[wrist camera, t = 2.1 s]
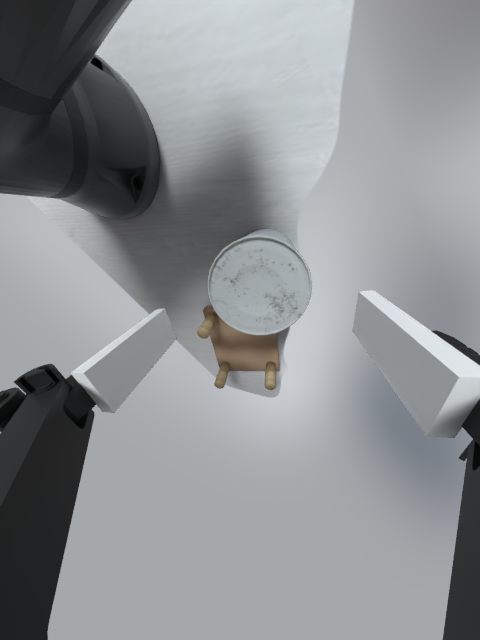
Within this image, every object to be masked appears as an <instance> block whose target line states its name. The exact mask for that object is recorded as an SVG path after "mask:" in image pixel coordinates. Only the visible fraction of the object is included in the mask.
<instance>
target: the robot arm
mask: <svg viewBox="0 0 480 640" xmlns="http://www.w3.org/2000/svg"><path fill="white" fill-rule="evenodd" d="M131 1H132V0H0V193H3V194H14V195H25V196H36V197H48V198H57V199H61V200H63V201H66V202H68V203H70V204H73V205H75V206H78V207H80V208H82V209H85V210H87V211H90V212H92V213H94V214H97V215H100V216H103V217H108V218H131V217H134V216H137V215H139V214H140V213H142V212H143V211H144V210H145V209H146V208H147V207H148V206H149V205H150V203H151V202H152V200H153V198H154V196H155V193H156V190H157V186H158V181H159V172H160V162H159V152H158V146H157V141H156V137H155V133H154V130H153V127H152V124H151V121H150V119H149V117H148V114H147V112H146V110H145V108H144V106H143V104H142V103H141V101H140V99H139V98H138V96H137V95H136V93H135V92H134V90H133V89H132V88H131V87H130V85H129V84H128V83H127V82H126V81H125V80H124V79H123V78H122V77H121V76H120V75H119V74H118V73H117V72H116V71H115V70H114V69H113V68H112V67H111V66H110V65H108V64H107V63H106V62H105V61H104V60H103V59H102V58H100V57H99V56H98V55H96V54H95V52H96V51H97V49H98V48H99V46H100V45H101V44H102V42H103V41H104V39H105V38H106V36H107V35H108V33H109V32H110V30H111V29H112V27H113V26H114V24H115V23H116V22H117V20H118V19H119V17H120V16H121V15H122V13H123V12H124V10H125V9H126V8H127V6H128V5H129V4H130V2H131ZM353 332H354V334H355V335H356V336H357V338H358V339H359V341H360V342H361V344H362V345H363V347H364V348H365V349H366V351H367V352H368V354H369V355H370V357H371V358H372V359H373V361H374V362H375V364H376V365H377V366H378V368H379V369H380V371H381V372H382V374H383V375H384V376H385V377H386V379H387V381H388V382H389V384H390V385H391V386H392V388H393V389H394V391H395V392H396V394H397V395H398V397H399V398H400V399H401V401H402V402H403V404H404V405H405V407H406V408H407V409H408V411H409V412H410V414H411V415H412V417H413V418H414V419H415V421H416V422H417V424H418V425H419V426H420V428H421V429H422V431H423V432H424V433H425V435H426V436H432V437H446V438H455V436H456V435H457V434H458V432H459V431H460V429H461V428H462V427H463V428H464V429H465V430H466V431H467V433H468V434H469V435H470V436H471V437H472V438H473V440H472V441H471V443H470V444H469V445H468V446H467V448H466V449H465V450H464V452H463V453H462V454H461V456H460V457H459V459H461V460H463V461H465V459H466V458H467V463H466V470H465V477H464V485H463V492H462V500H461V507H460V515H459V523H458V530H457V537H456V545H455V553H454V560H453V567H452V576H451V583H450V590H449V597H448V605H447V612H446V620H445V627H444V635H443V640H480V355H478V353H477V352H475V351H474V350H472V349H471V348H467V346H466V345H465V344H463V343H461V342H460V341H458V340H457V339H455V338H454V337H451V336H449V335H447V334H444V333H442V332H439V331H430V330H429V329H427V328H426V327H424V326H423V325H422V324H420V323H419V322H417V321H416V320H414V319H413V318H412V317H410V316H409V315H407V314H406V313H405V312H403V311H402V310H400V309H399V308H398V307H396V306H395V305H394V304H392V303H391V302H389V301H388V300H386V299H385V298H384V297H382V296H380V295H379V294H378V293H377V292H375V291H374V290H372V291H361V292H359V293H358V299H357V306H356V313H355V320H354V326H353ZM176 339H177V338H176V335H175V333H174V330H173V328H172V325H171V323H170V320H169V318H168V315H167V313H166V310H165V309H156V310H155V311H153V312H152V313H151V314H149V315H148V316H147V317H145V318H144V319H143V320H141V321H140V322H138V323H137V324H136V325H134V326H133V327H132V328H130V329H129V330H128V331H126V332H125V333H124V334H122V335H121V336H120V337H118V338H117V339H116V340H114V341H113V342H112V343H110V344H109V345H107V346H106V347H105V348H104V349H102V350H101V351H99V352H98V353H97V354H95V355H94V356H93V357H91V358H90V359H89V360H87V361H86V362H85V363H83V364H82V365H81V366H79V367H78V368H76V369H75V370H74V371H72V372H71V374H72V375H71V376H70V377H68V378H67V379H65V378H64V377H63V376H62V374H61V373H60V372H59V371H58V370H57V369H56V367H55V366H54V365H52V364H47V365H43V366H40V367H37V368H36V369H33V370H31V371H29V372H27V373H25V374H24V375H22V376H20V377H19V378H18V379H17V380H16V381H14V382H15V383H16V384H17V385H18V386H19V387H20V388H21V389H22V390H23V391H24V392H25V393H26V395H25V394H24V393H23V392H22V391H21V390H19V389H18V388H11V389H8V390H5V391H1V392H0V432H1V434H0V640H48V636H47V631H48V624H49V619H50V614H51V610H52V605H53V601H54V596H55V592H56V587H57V583H58V578H59V573H60V569H61V564H62V560H63V555H64V551H65V546H66V542H67V537H68V533H69V528H70V524H71V519H72V515H73V510H74V506H75V501H76V497H77V492H78V487H79V483H80V478H81V474H82V469H83V465H84V460H85V456H86V451H87V446H88V442H89V437H90V433H91V429H92V424H93V419H94V412H93V411H92V408H93V407H94V406H95V405H97V406H98V407H99V408H100V409H101V411H102V412H111V413H115V411H116V410H117V409H118V408H119V407H120V405H121V404H122V403H123V402H124V401H125V399H126V398H127V397H128V396H129V395H130V393H131V392H132V391H133V390H134V389H135V388H136V386H137V385H138V384H139V383H140V382H141V380H142V379H143V378H144V377H145V376H146V374H147V373H148V372H149V371H150V369H151V368H152V367H153V366H154V365H155V364H156V363H157V361H158V360H159V358H161V357H162V355H163V354H164V353H165V352H166V351H167V349H168V348H169V347H170V346H171V345H172V343H173V342H174V341H175V340H176Z"/></svg>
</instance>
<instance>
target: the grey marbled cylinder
mask: <svg viewBox="0 0 480 640" xmlns="http://www.w3.org/2000/svg"><path fill="white" fill-rule="evenodd" d="M311 290H312V280H311V275H310V270H309V268H308V266H307V264H306V262H305V260H304V258H303V257H302V256H301V255H300V254H299V252H298V251H297V250H296V249H295V247H294V246H293V244H292V242H291V241H290V240H289V238H288V237H287V236H285V235H284V234H283V233H281V232H279V231H277V230H274V229H266V228H265V229H258V230H256V231H253V232H251V233H249V234H248V235H246V236H245V237H243V238H241V239H239V240H236V241H234V242H232V243H231V244H229V245H228V246H227V247H225V248H224V249H223V250H222V251H221V252H220V253H219V254H218V256H217V257H216V258H215V260H214V262H213V264H212V266H211V268H210V271H209V275H208V294H209V299H210V302H211V304H212V306H213V308H214V310H215V312H216V313H217V314H218V316H219V317H220V318H221V319H222V320H223V321H224V322H225V323H226V324H227V325H229V326H231V327H232V328H234V329H236V330H238V331H240V332H243V333H246V334H251V335H269V334H274V333H277V332H280V331H282V330H285V329H286V328H288V327H289V326H291V325H292V324H294V323H295V322H296V321H297V320H298V319H299V318H300V317H301V316H302V314H303V313H304V311H305V309H306V308H307V306H308V303H309V300H310V297H311Z"/></svg>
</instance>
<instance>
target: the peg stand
mask: <svg viewBox="0 0 480 640" xmlns="http://www.w3.org/2000/svg"><path fill="white" fill-rule="evenodd" d="M203 312H204V316H205V321H204V322H203V324H202V325H201V327H200V328H199V330H198V331H197V333H198V335H199V337H201V338H207V337H208V336H209V335H210V336H211V340H212V343H213V346H214V350H215V353H216V357H217V360H218V363H219V367H220V370H219V372H218V375H217V378H216V381H215V386H216V387H217V388H223V387H224V385H225V382H226V378H227V375H228V372H229V371H266V373H265V388H267V389H269V390H273V389H275V387H276V371H279V357H278V345H277V333H274V334H269V335H251V334H246V333H243V332H240V331H238V330H236V329H234V328H232V327H231V326H229V325H227V324H226V323H225V322H224V321H223V320H222V319H221V318H220V317H219V316H218V314H217V313H216V312H215V310H214V308H213V306H212V305H209V306H206V307H205V309H204V310H203Z"/></svg>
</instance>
